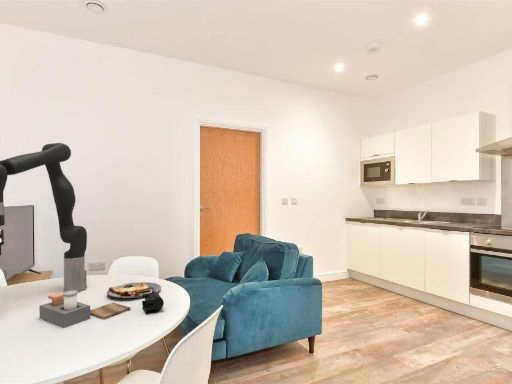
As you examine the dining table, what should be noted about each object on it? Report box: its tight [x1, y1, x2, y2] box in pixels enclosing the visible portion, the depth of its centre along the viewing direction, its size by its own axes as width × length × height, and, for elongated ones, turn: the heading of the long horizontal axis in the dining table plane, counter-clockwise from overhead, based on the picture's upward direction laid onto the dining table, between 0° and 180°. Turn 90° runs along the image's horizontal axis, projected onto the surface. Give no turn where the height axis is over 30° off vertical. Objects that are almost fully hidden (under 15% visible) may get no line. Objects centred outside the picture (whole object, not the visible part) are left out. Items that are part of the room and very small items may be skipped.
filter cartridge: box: [63, 290, 78, 311], centre depth 122 cm, size 5×5×11 cm
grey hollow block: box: [39, 301, 91, 329], centre depth 124 cm, size 10×18×5 cm, turn 59°
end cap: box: [141, 290, 164, 315], centre depth 132 cm, size 10×7×7 cm
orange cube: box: [47, 291, 64, 306], centre depth 126 cm, size 5×5×5 cm
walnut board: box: [90, 302, 131, 320], centre depth 130 cm, size 12×12×1 cm
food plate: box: [106, 281, 162, 299], centre depth 155 cm, size 25×23×4 cm
